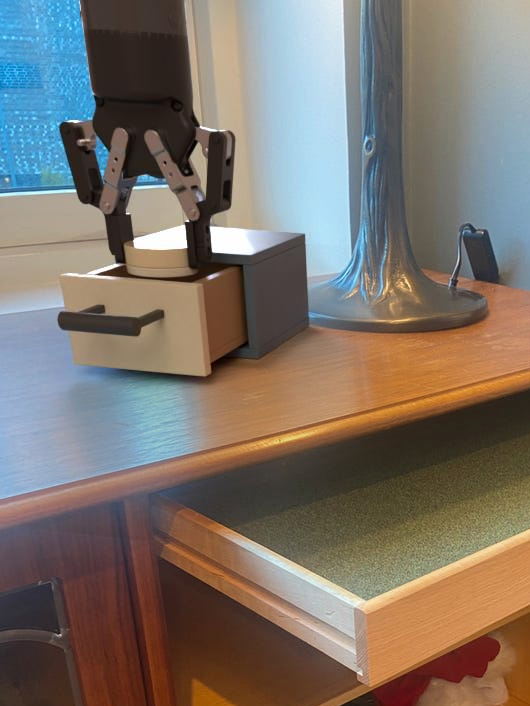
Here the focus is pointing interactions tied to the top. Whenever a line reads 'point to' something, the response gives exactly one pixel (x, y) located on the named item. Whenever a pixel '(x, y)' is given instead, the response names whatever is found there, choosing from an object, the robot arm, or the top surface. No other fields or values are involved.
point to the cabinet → (262, 282)
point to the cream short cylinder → (157, 258)
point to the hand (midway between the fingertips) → (162, 264)
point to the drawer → (154, 318)
